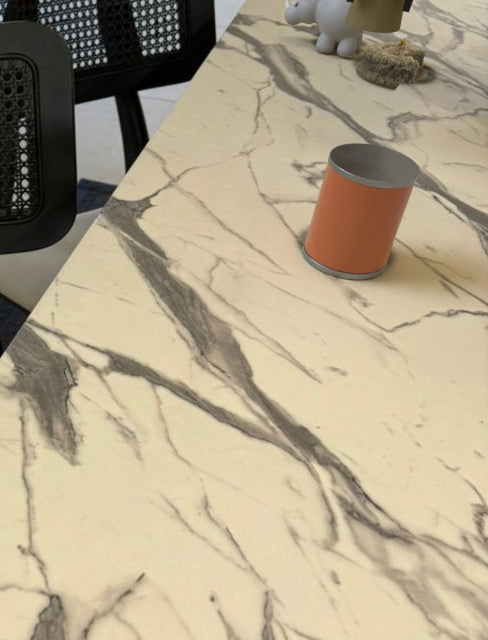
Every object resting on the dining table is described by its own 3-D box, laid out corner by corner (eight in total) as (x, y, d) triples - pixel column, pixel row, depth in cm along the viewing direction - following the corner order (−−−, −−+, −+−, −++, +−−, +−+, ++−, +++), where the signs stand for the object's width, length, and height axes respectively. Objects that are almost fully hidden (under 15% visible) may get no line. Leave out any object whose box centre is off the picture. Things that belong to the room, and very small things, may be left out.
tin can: (394, 253, 102) (428, 158, 96) (373, 289, 97) (408, 191, 90) (315, 229, 105) (343, 135, 98) (290, 262, 99) (318, 165, 93)
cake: (351, 86, 138) (360, 45, 134) (357, 63, 145) (365, 23, 141) (429, 94, 135) (440, 52, 132) (431, 71, 142) (441, 30, 139)
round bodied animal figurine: (285, 30, 151) (300, -32, 146) (364, 49, 148) (383, -14, 142) (270, 43, 147) (285, -20, 141) (352, 63, 143) (371, -1, 137)
